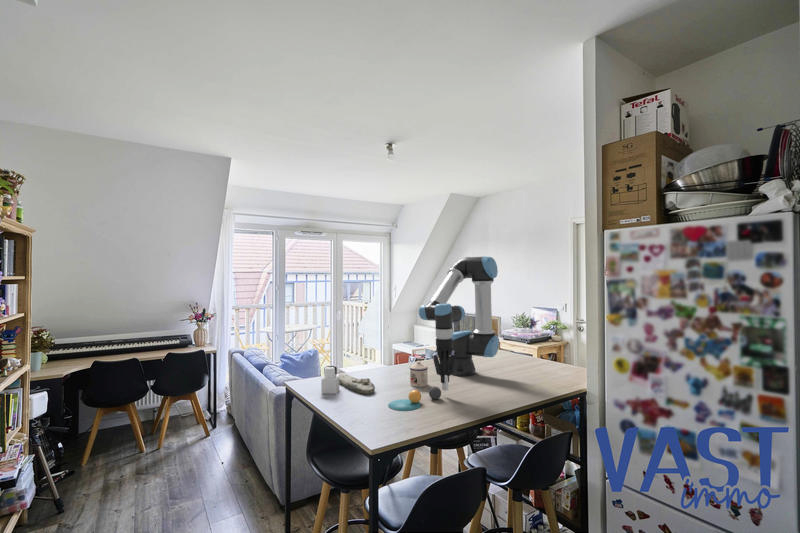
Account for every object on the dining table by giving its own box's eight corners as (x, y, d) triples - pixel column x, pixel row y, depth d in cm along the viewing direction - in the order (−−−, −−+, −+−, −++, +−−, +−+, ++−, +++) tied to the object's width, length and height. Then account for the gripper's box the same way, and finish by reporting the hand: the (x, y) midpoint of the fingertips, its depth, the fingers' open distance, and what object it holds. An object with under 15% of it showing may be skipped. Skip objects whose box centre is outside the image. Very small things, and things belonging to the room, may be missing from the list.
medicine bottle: (324, 389, 189) (324, 364, 189) (339, 389, 189) (339, 364, 189) (321, 394, 182) (321, 368, 182) (336, 394, 182) (336, 368, 182)
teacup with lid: (406, 383, 197) (406, 360, 197) (422, 381, 201) (422, 358, 201) (418, 390, 186) (418, 365, 186) (434, 387, 190) (434, 363, 190)
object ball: (416, 386, 171) (405, 390, 169) (422, 390, 166) (411, 394, 164) (417, 398, 172) (407, 403, 169) (424, 402, 167) (413, 406, 164)
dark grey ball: (427, 384, 173) (425, 397, 173) (435, 388, 169) (432, 400, 168) (437, 385, 176) (434, 397, 176) (444, 388, 172) (442, 401, 171)
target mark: (410, 397, 175) (410, 397, 175) (427, 407, 162) (427, 406, 162) (382, 403, 168) (382, 402, 168) (398, 413, 156) (398, 412, 156)
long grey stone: (347, 380, 211) (330, 384, 206) (346, 370, 212) (329, 374, 206) (381, 392, 183) (362, 397, 177) (380, 380, 183) (361, 385, 177)
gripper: (450, 335, 182) (451, 385, 182) (427, 338, 176) (428, 390, 176) (460, 337, 176) (461, 389, 175) (436, 340, 169) (438, 394, 169)
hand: (445, 389), depth 176 cm, fingers closed
